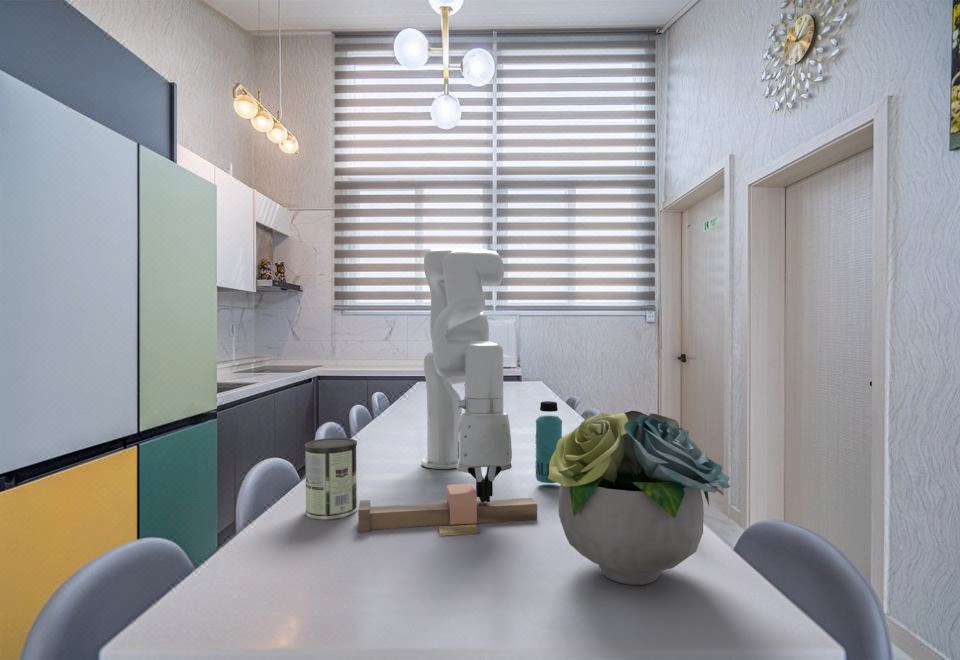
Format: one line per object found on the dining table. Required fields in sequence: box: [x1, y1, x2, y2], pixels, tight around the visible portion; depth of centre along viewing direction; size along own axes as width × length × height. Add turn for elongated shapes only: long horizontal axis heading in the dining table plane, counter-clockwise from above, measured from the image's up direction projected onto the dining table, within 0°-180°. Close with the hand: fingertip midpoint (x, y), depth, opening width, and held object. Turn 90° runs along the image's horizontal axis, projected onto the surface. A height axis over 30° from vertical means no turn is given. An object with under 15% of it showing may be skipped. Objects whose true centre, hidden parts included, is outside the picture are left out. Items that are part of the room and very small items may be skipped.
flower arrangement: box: [548, 410, 731, 586], centre depth 84 cm, size 25×25×24 cm
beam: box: [357, 497, 538, 537], centre depth 108 cm, size 15×34×4 cm, turn 100°
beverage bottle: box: [534, 400, 563, 484], centre depth 132 cm, size 6×7×20 cm
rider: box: [446, 483, 478, 526], centre depth 108 cm, size 7×5×6 cm
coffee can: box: [304, 437, 358, 521], centre depth 114 cm, size 10×10×14 cm
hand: (484, 500), depth 109 cm, fingers closed
